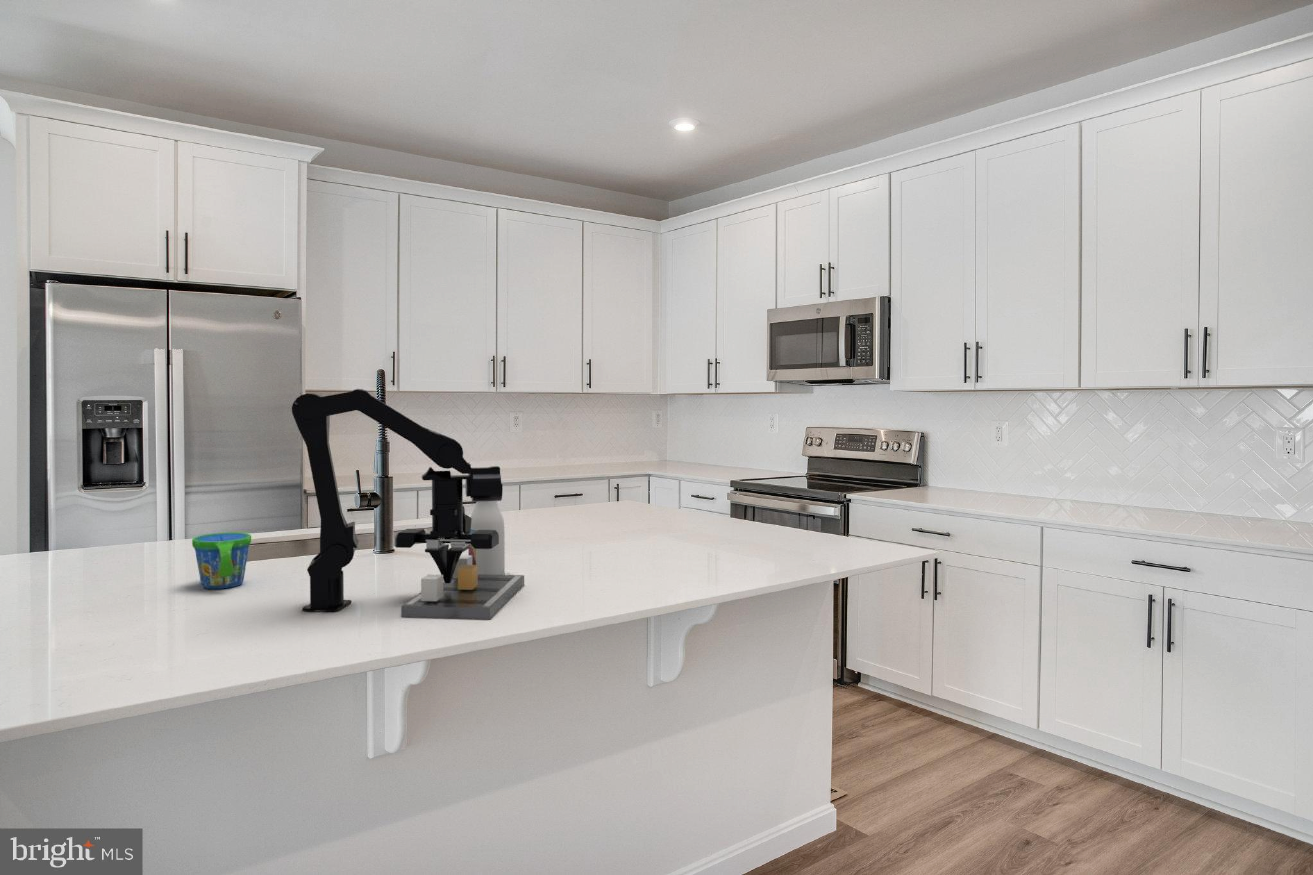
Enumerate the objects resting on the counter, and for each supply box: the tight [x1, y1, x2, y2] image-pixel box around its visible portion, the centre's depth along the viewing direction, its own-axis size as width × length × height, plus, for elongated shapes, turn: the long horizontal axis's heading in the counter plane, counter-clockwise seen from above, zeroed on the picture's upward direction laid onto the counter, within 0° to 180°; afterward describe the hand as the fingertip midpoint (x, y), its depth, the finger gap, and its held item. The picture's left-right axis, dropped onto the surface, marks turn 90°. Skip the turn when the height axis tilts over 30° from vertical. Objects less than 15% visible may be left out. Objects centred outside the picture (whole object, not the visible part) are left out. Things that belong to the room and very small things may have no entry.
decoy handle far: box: [453, 554, 472, 578], centre depth 159 cm, size 4×3×4 cm
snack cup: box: [191, 532, 252, 590], centre depth 159 cm, size 16×10×10 cm
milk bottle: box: [467, 501, 506, 575], centre depth 170 cm, size 8×8×20 cm
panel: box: [400, 574, 525, 620], centre depth 150 cm, size 26×16×2 cm, turn 177°
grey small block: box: [420, 573, 443, 601], centre depth 141 cm, size 4×3×4 cm
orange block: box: [458, 565, 478, 590], centre depth 150 cm, size 4×3×4 cm
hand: (448, 582), depth 150 cm, fingers closed
